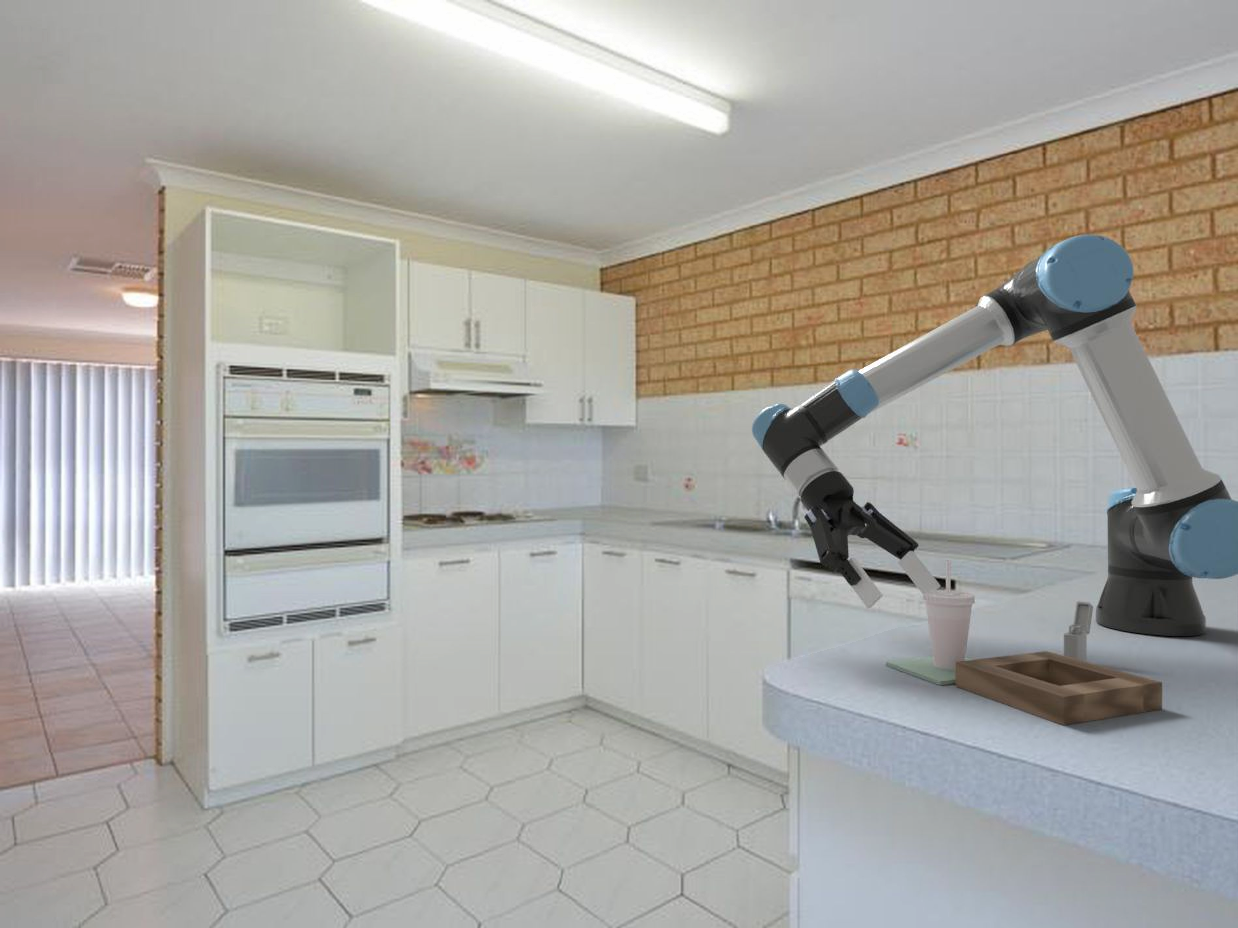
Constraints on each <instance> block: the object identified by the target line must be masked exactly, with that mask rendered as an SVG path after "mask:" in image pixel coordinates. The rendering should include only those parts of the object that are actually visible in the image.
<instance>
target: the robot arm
mask: <svg viewBox="0 0 1238 928" xmlns="http://www.w3.org/2000/svg"><path fill="white" fill-rule="evenodd" d="M1133 279H1134V265H1133V261H1132V259H1131V257H1130V255H1129V253H1128V252H1127V251H1126V249H1125V248H1124V247H1123V246H1122V245H1121V244H1119V243H1118V242H1116V241H1114V240H1113V239H1111V238H1109V237H1106V236H1102V235H1097V234H1080V235H1076V236H1072V237H1069V238H1067V239H1065V240H1063V241H1059V242H1057V243H1056V244H1055V245H1052V246H1051V247H1048V249H1047V250H1045V251H1044V252H1043V253H1042V254H1039V256H1038V257H1037V258H1035V259H1033V260H1031V261H1030V262H1029V263H1028V264H1026V265H1024V267H1022V268H1021V269H1020V270H1019V271H1017V272H1016V273H1015V274H1014V275H1013V276H1011V277H1010V278H1009V279H1008V280H1006V281H1005V282H1004V283H1002V284H1001V285H1000V286H998V287H997V288H995V289H993V290H992V291H990V292H988V293H985V294H984V295H982V296H981V297H980V298H979V301H978V303H977V306H975V307H973V308H971V309H970V310H968V311H965V312H964V313H962V314H960V315H958V316H956V317H954V318H953V319H951V320H948V321H947V322H945V323H944V324H942V325H940V326H939V327H936V328H934V329H933V330H931V331H929V332H928V333H925V334H923V335H921V336H919V337H918V338H916V339H915V340H912V341H910V342H909V343H907V344H905V345H903V346H901V347H900V348H897V349H896V350H894V351H892V352H890V353H889V354H887V355H885V356H883V357H881V358H880V359H877V360H876V361H874V362H873V363H871V364H868V365H867V366H865V367H863V368H861V369H859V370H857V369H850V370H847V371H846V372H845V373H842V374H841V375H839V376H837V377H835V379H833V380H832V381H831V382H829V383H828V384H826V385H825V386H824V387H822V388H821V389H819V390H818V391H816V392H815V393H813V395H811V396H809V397H808V398H807V399H806V400H805V401H802V403H800V404H797V406H794V407H793V408H791V407H789V406H788V405H787V404H784V403H775V404H773V405H772V406H768V407H767V406H766V407H765V408H764V409H763V410H761V411H760V413H759V414H757V415H756V416H755V419H754V421H753V422H752V426H751V433H752V436H753V437H754V439H755V441H756V442H757V444H758V445H759V446H760V448H761V450H762V452H763V453H764V454H765V455H766V457H767V459H769V461H770V462H771V463H772V465H773V466H774V467H775V468H776V469H777V471H778V472H779V474H780V475H781V476H782V478H783V479H784V480H785V482H787V484H788V486H790V488H791V490H792V491H793V493H794V494H795V496H796V497H797V498H799V499H800V503H801V504H802V505H803V506H804V508H805V509H806V511H807V513H806V514H805V515H804V519H805V521H806V522H807V524H808V525H809V528H810V531H811V534H812V538H813V541H814V545H815V549H816V552H817V555H818V559H819V561H820V564H821V565H822V566H823V567H827V568H828V571H830V572H831V573H833V574H835V573H836V572H837V571H839V572H840V574H841V576H842V577H843V578H844V580H845V581H846V583H847V584H848V585H849V586H850V587H851V588H852V590H853V591H854V592H855V594H856V595H857V597H858V598H859V599H860V601H862V603H863V604H864V606H865V608H866V609H871V608H872V607H873V606H874V605H875V604H876V603H877V602H879V600H880V599H881V598H882V597H883V596H884V595H883V594H882V593H881V591H880V590H879V588H878V587H877V586H876V585H875V583H874V581H873V580H872V579H871V578H870V577H869V576H870V575H868V574H867V572H866V571H865V570H864V568H863V567H862V566H861V564H860V563H859V561H857V560H858V559H856V558H855V557H850V556H849V540H848V539H849V537H848V536H851V535H852V536H857V537H859V538H860V539H867V540H869V541H870V542H872V543H873V544H875V545H877V546H879V548H881V549H883V550H885V551H886V552H887V553H889V554H890V555H892V556H894V557H895V558H897V559H898V560H899V561H898V562H897V563H898V565H899V566H900V567H901V568H902V570H903V571H904V572H905V573H906V574H907V576H908V578H910V580H911V581H912V582H913V583H914V585H915V586H916V587H917V589H918V590H919V591H920V593H921V594H922V595H923V592H925V591H929V590H939V588H941V586H942V585H941V584H940V583H939V582H938V580H937V579H936V578H935V577H934V576H933V574H932V573H931V572H930V571H929V569H928V568H927V567H926V566H925V565H924V563H923V562H922V560H920V558H919V557H918V556H917V555H916V553H915V550H917V548H918V547H919V546H920V545H919V543H918V542H917V541H915V540H914V538H912V537H910V536H909V535H908V534H907V533H906V532H904V531H903V529H900V527H898V526H897V525H896V524H894V523H893V522H892V521H891V520H889V519H888V518H887V517H886V516H884V515H883V514H882V513H881V512H879V510H878V509H877V508H876V507H875V505H873V503H871V502H869V501H868V502H866V503H865V504H864V505H863V506H860V505H859V504H858V503H856V501H854V492H855V491H854V489H855V488H854V487H853V486H852V484H851V483H850V482H849V481H848V479H847V478H846V477H845V476H844V474H843V473H842V472H840V471H839V468H838V467H837V466H836V464H835V463H834V461H832V459H831V458H830V457H829V456H828V454H827V453H826V452H825V451H824V450H823V448H822V446H823V445H825V444H827V443H828V442H829V441H830V440H831V439H833V438H834V437H836V436H838V435H839V434H841V433H842V432H844V431H845V430H847V429H849V428H850V427H852V426H853V425H854V424H856V423H857V422H859V421H860V420H862V419H864V418H866V417H867V416H868V415H869V414H871V413H873V412H875V411H877V410H879V409H881V408H883V407H885V406H886V405H888V404H890V403H892V402H893V401H896V400H897V399H900V398H901V397H903V396H905V395H907V394H909V393H911V392H913V391H914V390H917V389H919V388H920V387H922V386H924V385H926V384H928V383H930V382H932V381H934V380H935V379H937V378H939V377H941V376H943V375H945V374H947V373H948V372H950V371H952V370H954V369H956V368H958V367H960V366H962V365H963V364H964V365H965V363H967V362H969V361H971V360H973V359H975V358H977V357H979V356H981V355H983V354H985V353H987V352H988V351H990V350H992V349H994V348H996V347H998V346H1000V345H1001V346H1005V347H1010V346H1012V345H1014V344H1016V343H1018V342H1021V340H1024V339H1026V338H1029V337H1032V336H1033V335H1037V334H1039V333H1042V332H1045V331H1047V332H1048V334H1049V336H1050V338H1051V339H1052V342H1053V343H1054V344H1056V345H1060V346H1063V347H1065V348H1068V350H1069V351H1070V353H1071V355H1072V358H1073V359H1074V362H1075V363H1076V365H1077V367H1078V370H1079V371H1080V374H1081V376H1082V378H1083V380H1084V382H1085V384H1086V386H1087V388H1088V390H1089V392H1090V395H1091V396H1092V398H1093V400H1094V402H1095V404H1096V407H1097V409H1098V410H1099V413H1100V415H1101V417H1102V419H1103V421H1104V423H1105V425H1106V427H1107V429H1108V431H1109V433H1110V436H1111V438H1112V440H1113V442H1114V443H1115V445H1116V448H1117V449H1118V452H1119V454H1120V456H1121V458H1122V460H1123V462H1124V464H1125V466H1126V468H1127V471H1128V472H1129V474H1130V476H1131V479H1132V481H1133V482H1134V485H1135V487H1125V488H1119V489H1116V490H1114V491H1112V492H1111V493H1110V494H1109V496H1108V501H1107V502H1108V503H1107V508H1106V514H1107V580H1106V582H1105V584H1104V587H1103V590H1102V592H1101V595H1100V597H1099V599H1098V600H1099V601H1098V604H1097V605H1096V609H1095V623H1097V624H1098V625H1100V626H1103V627H1106V628H1111V629H1113V630H1119V631H1122V632H1123V631H1125V632H1130V633H1138V634H1144V635H1154V636H1168V637H1193V636H1194V637H1195V636H1200V635H1204V634H1206V633H1207V632H1206V631H1207V622H1206V621H1207V619H1206V616H1205V614H1204V611H1203V608H1202V606H1201V605H1202V604H1201V603H1200V600H1199V598H1198V595H1197V592H1196V590H1195V588H1194V584H1193V578H1194V579H1207V580H1208V579H1209V580H1221V579H1222V580H1223V579H1228V578H1232V577H1234V576H1236V575H1238V500H1235V499H1232V497H1231V495H1230V493H1229V491H1228V489H1227V487H1226V485H1225V483H1224V481H1223V480H1222V477H1221V475H1219V474H1218V473H1215V472H1211V471H1208V470H1206V469H1205V468H1203V466H1202V465H1201V463H1200V460H1199V459H1198V457H1197V455H1196V452H1195V450H1194V449H1193V446H1192V444H1191V442H1190V440H1189V438H1188V437H1187V434H1186V432H1185V430H1184V428H1183V426H1182V424H1181V422H1180V420H1179V418H1178V415H1177V414H1176V412H1175V410H1174V408H1173V406H1172V404H1171V401H1170V400H1169V398H1168V396H1167V394H1166V392H1165V390H1164V388H1163V386H1162V383H1161V382H1160V380H1159V378H1158V375H1157V374H1156V371H1155V369H1154V367H1153V365H1152V363H1151V361H1150V359H1149V356H1148V355H1147V353H1146V351H1145V349H1144V346H1143V345H1142V342H1141V340H1140V339H1139V337H1138V335H1137V332H1136V331H1135V328H1134V326H1133V324H1132V319H1133V317H1134V315H1135V313H1136V311H1137V309H1138V307H1137V303H1136V302H1135V301H1134V298H1133V296H1132V294H1131V292H1130V288H1131V286H1132V282H1133ZM849 557H850V559H849Z"/></svg>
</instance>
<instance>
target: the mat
mask: <svg viewBox="0 0 1238 928" xmlns="http://www.w3.org/2000/svg"><path fill="white" fill-rule="evenodd" d="M969 660H975V659H973V658H970V657H967V656H965V661H969ZM885 666H887V667H888V668H892V669H895V670H898V671H901V672H902V673H906V674H908V675H911V676H914V677H916V678H919V679H922V680H924V681H926V682H930V683H932V684H936V685H938V686H946V685H953V684H956V670H945V669H940V668H937V667H935V666H934V664H933V657H932V656H923V657H915V658H907V659H906V658H904V659H895V660H888V661H885Z"/></svg>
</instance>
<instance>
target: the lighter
mask: <svg viewBox="0 0 1238 928" xmlns="http://www.w3.org/2000/svg"><path fill="white" fill-rule="evenodd" d="M1093 610H1094V606H1093V605H1092V603H1090V602H1089V601H1088V602H1087V601H1077V602H1076V604H1075V610H1074V611H1075V613H1074V620H1073V623H1072V624H1071V625H1069V626H1068V631H1067V632H1065V633H1063V656H1066V657H1069V658H1073V659H1077V660H1081V661H1084V662H1087V644H1088V643H1087V636H1088V635H1089V634H1091V627H1092V625H1091V624H1092V619H1093V612H1094V611H1093Z"/></svg>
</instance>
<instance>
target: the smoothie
mask: <svg viewBox="0 0 1238 928" xmlns="http://www.w3.org/2000/svg"><path fill="white" fill-rule="evenodd" d="M922 595H923V597H922V600H923V601H924V602H925V607H926V617H927V625H928V632H929V639H930V647H931V654H932V657H933V664H934V666H935V667H937V668H940V669H945V670H956V662H960V661H965V657H966V654H967V648H968V641H969V640H968V638H969V630H970V626H971V625H970V624H971V618H972V616H971V615H972V607H973V605H974V604H976V601H975V595H974V594H973V593H971V592H968V591H967V592H966V591H960V590H951V560H950V559H949V560H948V559H947V560H945V589H937V590H929V591H925V592H923V594H922Z"/></svg>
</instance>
